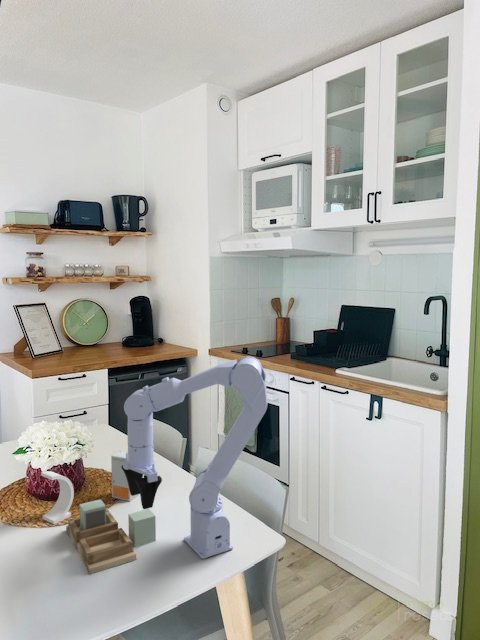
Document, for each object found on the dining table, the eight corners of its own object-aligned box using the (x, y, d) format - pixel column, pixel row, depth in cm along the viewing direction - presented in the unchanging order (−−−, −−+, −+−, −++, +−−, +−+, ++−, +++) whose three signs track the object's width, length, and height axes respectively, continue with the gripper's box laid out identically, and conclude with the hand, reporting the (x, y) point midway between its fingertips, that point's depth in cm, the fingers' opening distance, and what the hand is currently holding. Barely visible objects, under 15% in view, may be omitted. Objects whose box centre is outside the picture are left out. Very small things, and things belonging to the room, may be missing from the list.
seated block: (106, 531, 119) (106, 506, 118) (85, 537, 116) (84, 512, 116) (101, 523, 123) (100, 499, 122) (80, 528, 120) (79, 504, 119)
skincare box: (111, 498, 138) (110, 455, 137) (120, 491, 142) (119, 450, 141) (130, 502, 136) (129, 458, 135) (139, 495, 140) (138, 453, 139)
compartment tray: (136, 559, 110) (136, 545, 109) (89, 574, 105) (89, 559, 104) (107, 519, 127) (107, 507, 126) (66, 530, 121) (65, 517, 121)
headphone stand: (42, 518, 127) (40, 472, 126) (63, 509, 132) (62, 464, 131) (53, 524, 124) (52, 477, 123) (74, 514, 129) (73, 469, 128)
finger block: (155, 540, 117) (155, 515, 117) (134, 546, 115) (134, 521, 114) (148, 532, 121) (148, 508, 120) (128, 538, 119) (127, 513, 118)
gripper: (113, 437, 119) (114, 492, 121) (135, 457, 107) (135, 518, 109) (141, 432, 123) (142, 486, 124) (166, 451, 111) (166, 510, 112)
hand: (141, 500), depth 117 cm, fingers open, 7 cm apart
